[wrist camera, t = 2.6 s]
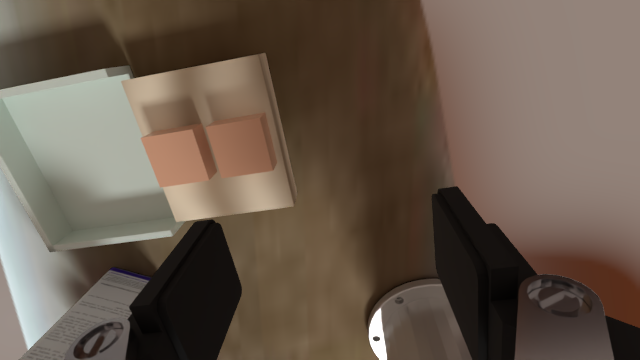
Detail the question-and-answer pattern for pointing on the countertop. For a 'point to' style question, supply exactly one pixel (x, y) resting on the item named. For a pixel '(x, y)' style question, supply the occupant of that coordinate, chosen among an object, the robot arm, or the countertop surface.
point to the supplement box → (89, 313)
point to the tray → (81, 162)
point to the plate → (206, 107)
